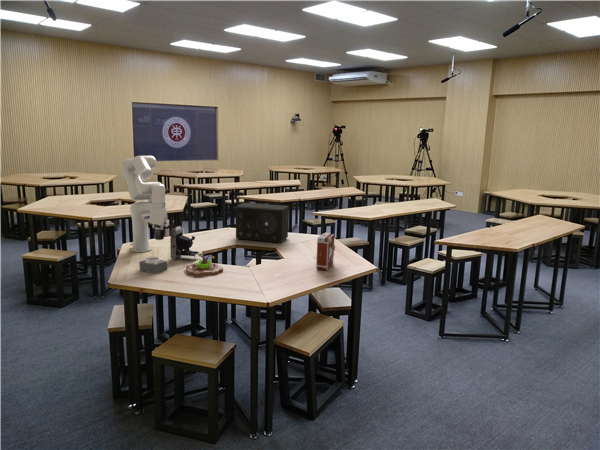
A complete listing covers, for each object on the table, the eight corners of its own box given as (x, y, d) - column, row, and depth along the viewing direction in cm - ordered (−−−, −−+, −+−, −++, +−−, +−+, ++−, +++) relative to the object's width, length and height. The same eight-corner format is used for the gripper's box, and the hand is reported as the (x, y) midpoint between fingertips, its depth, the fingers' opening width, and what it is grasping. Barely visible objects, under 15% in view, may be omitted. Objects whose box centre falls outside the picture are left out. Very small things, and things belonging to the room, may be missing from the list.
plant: (180, 269, 255) (179, 251, 253) (211, 264, 267) (211, 246, 265) (194, 279, 240) (194, 259, 237) (227, 273, 251) (227, 254, 249)
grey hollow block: (139, 270, 251) (139, 259, 250) (151, 266, 259) (151, 255, 258) (155, 273, 246) (155, 262, 245) (167, 269, 254) (166, 258, 253)
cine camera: (337, 262, 277) (338, 231, 273) (329, 271, 259) (330, 238, 255) (323, 261, 280) (324, 230, 276) (313, 269, 262) (315, 236, 258)
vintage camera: (193, 262, 270) (194, 230, 266) (169, 259, 273) (170, 227, 269) (199, 258, 279) (200, 227, 276) (177, 255, 282) (177, 224, 278)
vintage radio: (231, 240, 325) (231, 206, 320) (241, 234, 344) (241, 202, 339) (280, 244, 316) (281, 210, 311) (288, 238, 335) (289, 205, 330)
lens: (152, 239, 263) (152, 225, 262) (159, 237, 268) (158, 224, 266) (159, 240, 261) (159, 227, 259) (165, 238, 266) (165, 225, 264)
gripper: (142, 204, 260) (143, 234, 264) (165, 208, 253) (165, 239, 257) (152, 202, 267) (153, 231, 271) (174, 206, 260) (174, 236, 264)
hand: (159, 235), depth 264 cm, fingers closed on lens, 5 cm apart
